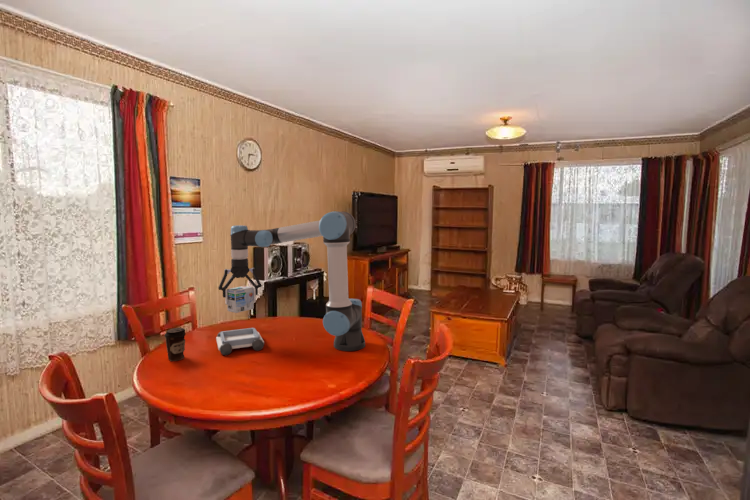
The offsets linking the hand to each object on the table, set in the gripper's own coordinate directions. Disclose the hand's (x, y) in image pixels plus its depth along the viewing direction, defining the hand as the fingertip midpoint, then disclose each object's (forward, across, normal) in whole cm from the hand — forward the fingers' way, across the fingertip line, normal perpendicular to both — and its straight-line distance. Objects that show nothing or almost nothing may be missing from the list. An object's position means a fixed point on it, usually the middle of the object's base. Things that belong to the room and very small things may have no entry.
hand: (240, 302), depth 186 cm
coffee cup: (+21, +28, +7) cm, 36 cm away
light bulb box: (+4, 0, 0) cm, 4 cm away
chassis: (+21, +1, 0) cm, 21 cm away
